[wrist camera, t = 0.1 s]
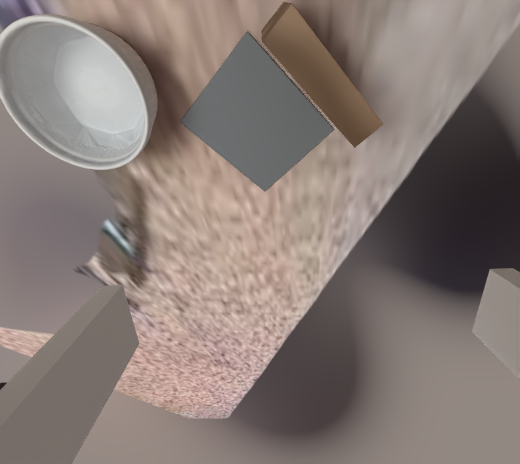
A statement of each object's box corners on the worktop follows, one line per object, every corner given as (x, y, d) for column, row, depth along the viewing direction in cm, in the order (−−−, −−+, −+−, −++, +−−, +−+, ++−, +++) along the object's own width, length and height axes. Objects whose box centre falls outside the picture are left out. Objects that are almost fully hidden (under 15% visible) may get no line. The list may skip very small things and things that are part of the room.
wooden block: (283, 2, 26) (291, 3, 19) (356, 96, 31) (383, 124, 24) (261, 31, 27) (261, 42, 21) (334, 116, 33) (354, 148, 26)
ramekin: (70, -28, 25) (18, -36, 19) (190, 87, 31) (176, 105, 25) (22, 87, 31) (-27, 105, 25) (131, 164, 37) (110, 192, 31)
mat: (247, 31, 27) (247, 31, 27) (333, 128, 34) (333, 129, 33) (180, 121, 33) (180, 122, 33) (264, 190, 39) (264, 191, 39)
